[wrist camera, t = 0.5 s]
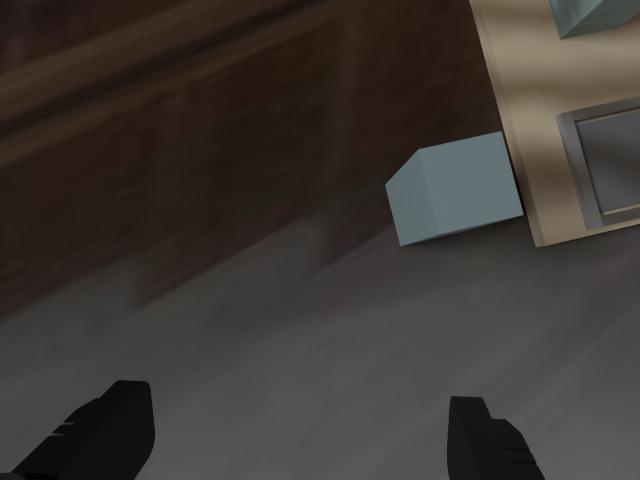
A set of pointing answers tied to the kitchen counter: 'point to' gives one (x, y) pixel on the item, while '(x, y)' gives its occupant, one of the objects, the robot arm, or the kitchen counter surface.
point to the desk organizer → (568, 109)
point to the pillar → (453, 189)
